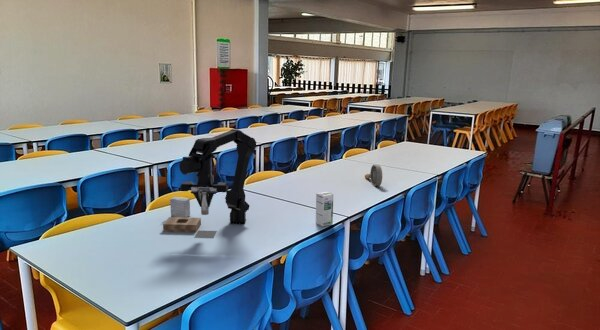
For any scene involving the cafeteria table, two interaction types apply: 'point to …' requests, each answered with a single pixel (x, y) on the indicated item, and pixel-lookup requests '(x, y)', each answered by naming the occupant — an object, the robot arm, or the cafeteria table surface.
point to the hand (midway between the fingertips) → (204, 206)
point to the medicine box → (180, 207)
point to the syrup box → (324, 208)
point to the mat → (205, 234)
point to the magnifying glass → (375, 175)
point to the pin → (204, 202)
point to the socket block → (181, 224)
